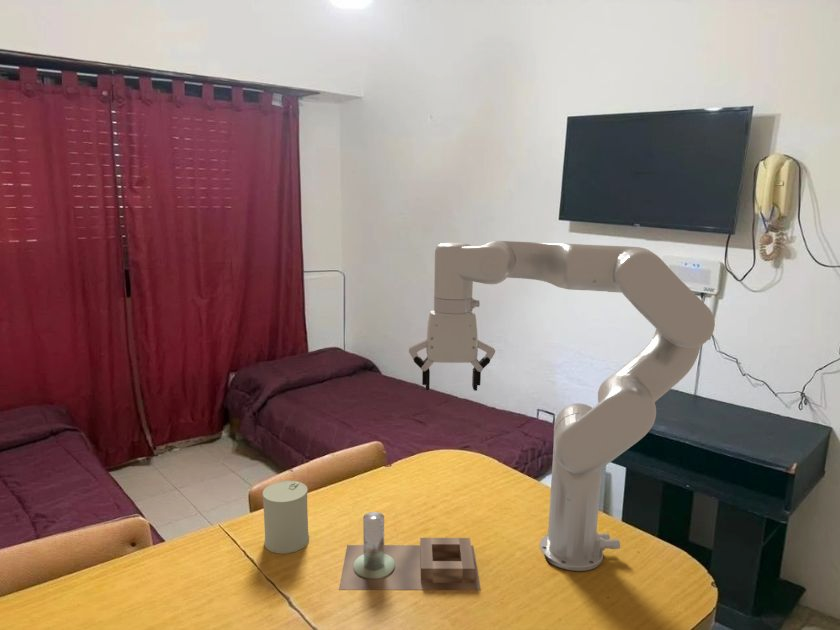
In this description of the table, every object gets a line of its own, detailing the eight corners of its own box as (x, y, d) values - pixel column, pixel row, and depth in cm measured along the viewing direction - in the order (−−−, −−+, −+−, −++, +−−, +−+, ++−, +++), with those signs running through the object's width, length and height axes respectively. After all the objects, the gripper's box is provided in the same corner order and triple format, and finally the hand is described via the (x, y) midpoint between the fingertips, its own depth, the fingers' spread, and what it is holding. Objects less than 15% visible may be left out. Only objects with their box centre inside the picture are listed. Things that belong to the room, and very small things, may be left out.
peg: (384, 558, 118) (384, 511, 116) (384, 570, 114) (383, 523, 112) (364, 558, 118) (364, 511, 116) (363, 570, 114) (362, 523, 112)
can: (318, 535, 128) (316, 484, 126) (290, 558, 120) (288, 504, 118) (284, 524, 132) (282, 474, 130) (255, 546, 124) (252, 493, 122)
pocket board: (473, 549, 124) (473, 532, 123) (480, 594, 110) (481, 575, 109) (347, 549, 123) (346, 531, 123) (339, 594, 110) (338, 575, 109)
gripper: (494, 302, 122) (491, 382, 125) (409, 301, 122) (408, 382, 125) (499, 310, 115) (495, 394, 118) (409, 309, 114) (408, 394, 118)
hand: (451, 388), depth 122 cm, fingers open, 9 cm apart
